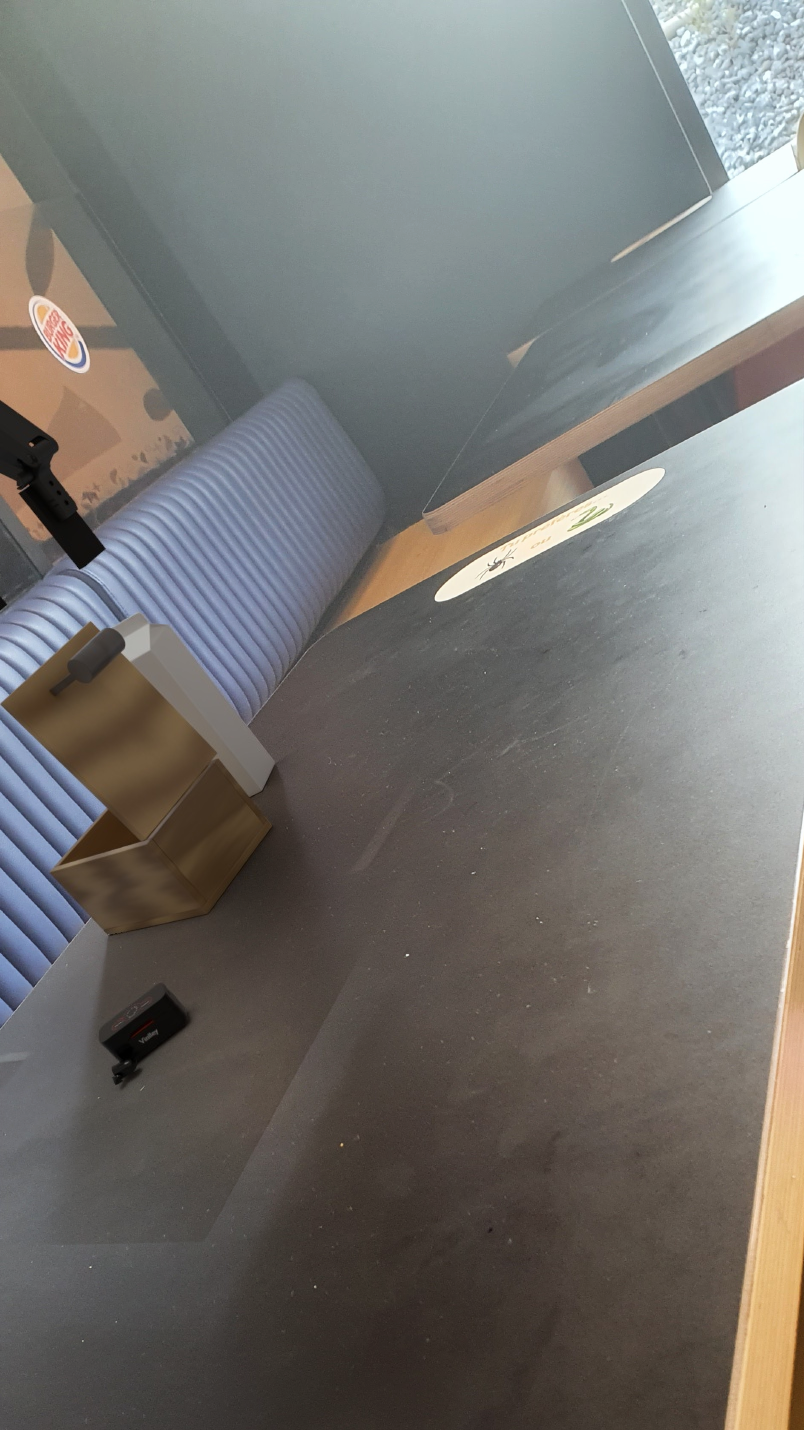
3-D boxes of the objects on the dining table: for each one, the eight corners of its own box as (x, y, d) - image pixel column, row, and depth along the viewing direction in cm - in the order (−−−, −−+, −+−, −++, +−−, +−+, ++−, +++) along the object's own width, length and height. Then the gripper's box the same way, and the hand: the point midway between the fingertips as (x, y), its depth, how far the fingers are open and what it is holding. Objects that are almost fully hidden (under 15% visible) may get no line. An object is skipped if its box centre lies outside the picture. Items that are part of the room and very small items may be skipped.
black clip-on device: (116, 1061, 94) (89, 1035, 92) (187, 1007, 94) (162, 980, 93) (119, 1090, 90) (92, 1063, 88) (194, 1033, 90) (168, 1005, 89)
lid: (-1, 704, 97) (38, 671, 92) (86, 624, 105) (126, 590, 100) (141, 841, 103) (184, 818, 98) (213, 755, 111) (256, 729, 106)
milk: (262, 791, 124) (129, 623, 114) (219, 812, 127) (84, 649, 116) (276, 762, 129) (150, 598, 119) (234, 782, 132) (106, 623, 121)
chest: (108, 935, 116) (48, 872, 112) (174, 852, 124) (121, 790, 120) (208, 914, 107) (146, 844, 103) (272, 825, 115) (218, 757, 111)
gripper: (-41, 227, 75) (167, 508, 85) (-207, 387, 90) (-14, 611, 100) (-120, 264, 71) (110, 558, 80) (-282, 427, 85) (-71, 659, 95)
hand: (42, 588), depth 90 cm, fingers open, 13 cm apart
